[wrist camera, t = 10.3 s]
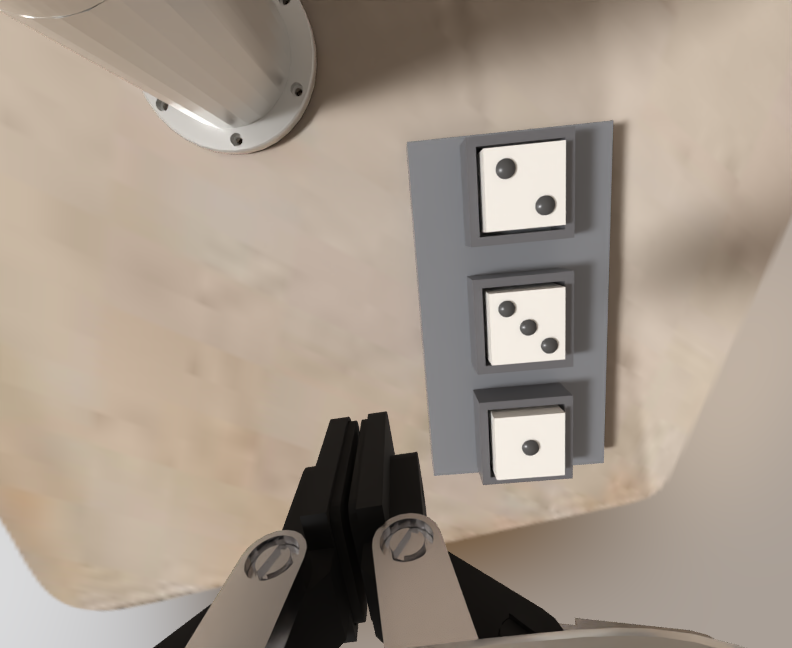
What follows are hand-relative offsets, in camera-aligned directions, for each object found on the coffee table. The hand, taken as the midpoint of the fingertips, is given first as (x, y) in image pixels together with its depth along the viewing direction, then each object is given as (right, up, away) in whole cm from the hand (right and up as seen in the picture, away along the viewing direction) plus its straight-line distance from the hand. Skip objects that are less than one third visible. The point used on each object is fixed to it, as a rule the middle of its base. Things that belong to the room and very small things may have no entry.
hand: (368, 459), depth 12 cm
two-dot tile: (+9, +13, +16) cm, 22 cm away
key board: (+10, +5, +20) cm, 23 cm away
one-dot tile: (+11, -4, +20) cm, 23 cm away
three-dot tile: (+10, +4, +18) cm, 21 cm away
